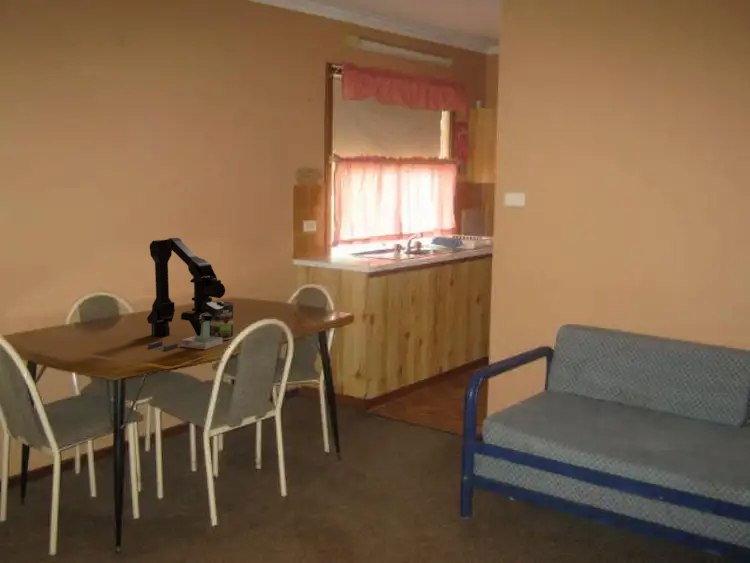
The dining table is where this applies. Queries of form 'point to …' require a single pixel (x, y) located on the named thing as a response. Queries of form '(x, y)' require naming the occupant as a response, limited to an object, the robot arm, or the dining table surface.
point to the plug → (204, 331)
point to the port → (202, 342)
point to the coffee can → (223, 323)
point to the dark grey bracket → (162, 346)
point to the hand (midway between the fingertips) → (202, 334)
